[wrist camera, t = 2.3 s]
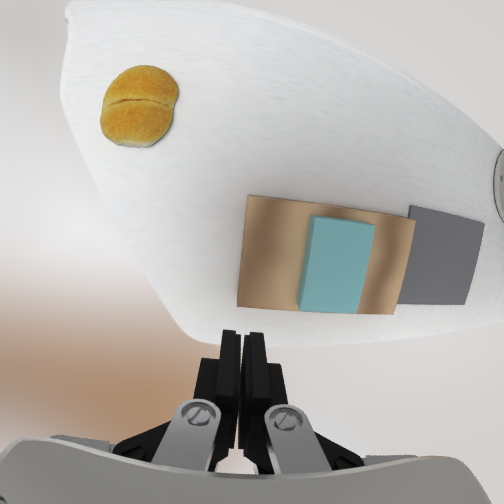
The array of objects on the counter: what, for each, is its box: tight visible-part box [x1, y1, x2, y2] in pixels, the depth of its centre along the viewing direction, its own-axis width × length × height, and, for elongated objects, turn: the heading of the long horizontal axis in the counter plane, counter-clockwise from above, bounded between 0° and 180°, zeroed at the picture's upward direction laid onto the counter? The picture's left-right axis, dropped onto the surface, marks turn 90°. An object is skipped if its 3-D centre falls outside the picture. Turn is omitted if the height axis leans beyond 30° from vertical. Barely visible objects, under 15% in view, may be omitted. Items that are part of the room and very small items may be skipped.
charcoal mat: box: [397, 205, 485, 305], centre depth 31 cm, size 14×12×1 cm
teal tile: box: [297, 215, 375, 314], centre depth 27 cm, size 6×9×2 cm, turn 174°
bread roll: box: [100, 65, 178, 147], centre depth 24 cm, size 8×9×4 cm
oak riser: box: [237, 195, 416, 315], centre depth 29 cm, size 18×11×2 cm, turn 84°
